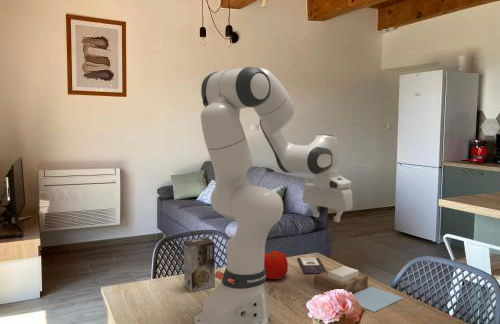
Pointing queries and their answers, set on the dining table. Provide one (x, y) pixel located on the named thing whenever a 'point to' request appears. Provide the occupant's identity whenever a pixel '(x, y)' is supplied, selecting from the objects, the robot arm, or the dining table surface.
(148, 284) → the dining table surface
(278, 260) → the tomato
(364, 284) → the brown wooden box
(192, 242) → the coffee box
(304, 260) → the chocolate bar
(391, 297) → the mat
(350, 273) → the cream slab
